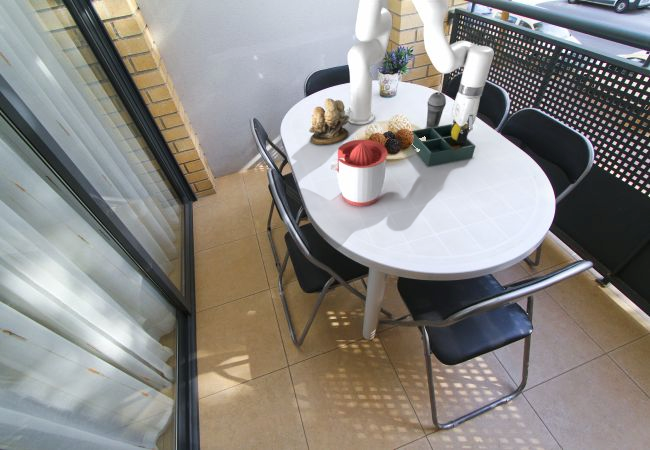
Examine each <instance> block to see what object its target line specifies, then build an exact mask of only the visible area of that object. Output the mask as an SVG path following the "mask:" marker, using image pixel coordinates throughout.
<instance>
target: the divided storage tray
mask: <svg viewBox="0 0 650 450" xmlns="http://www.w3.org/2000/svg"><path fill="white" fill-rule="evenodd" d="M452 126H453V123H450V124H449V123H448V124H443V125H439V126H438V127H432V128H427V127H426V128H421V129H414V130H411V131H412V132H413V135H414V142H413V145H414V146H415V147H416V148H418V149H420V151H419V152H416V153H417V155H418V156H419V157H420V158H421V160H422V161H423V162H424V163H425V164H426V166H427V167H432V166H437V165H438V166H439V165H442V164H448V163H454V162H459V161H464V160H469V159H472V158H473V156H474V153H475V149H476V144H475V143H473V141H471V140H470V139H469V138H468V137H467V139H466V142H465V143H457V142H456V140H454V139H453V138H452V136H451V130H452ZM424 136H425V137H426V141H421V140H420V139H419V138H422V137H424ZM413 145H410V146H411V148H412V149H413V150H414V149H416V148H415V147H414V146H413Z"/></svg>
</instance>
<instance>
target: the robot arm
mask: <svg viewBox="0 0 650 450" xmlns="http://www.w3.org/2000/svg"><path fill="white" fill-rule="evenodd" d="M411 3H412V5H413V6H414V8H415V10H416V12H417V14H418V16H419V17H420V20H421V22H422V25H423V42H424V49H425V51H426V54H427V56H428V58H429V60H430V62H431V64H432V65H433V67H434V69H435V70H437V71H438V72H439V73H441V74H450V73H452V72H454V71H456V70H457V69H460V68H463V70H462V75H461V79H460V82H459V83H460V84H459V87H458V91H457V93H456V96H455V99H454V103H453V106H452V110H451V112H450V113H451V114H450V115H451V117H452V118H453V119H452V125H453V126H454V125H455V124H456V123H457V124H458V125H459V126H461V129H460V132H459V134H458V138H457V141H456V142H457V143H465V142H466V139H467V138H468V135H469V134H470V132H471V131H473V129H474V124H475V122H476V118H477V115H478V111H479V106H480V101H481V97H482V95H483V92H484V89H485V86H486V82H487V80H488V76H489V74H490V73H489V72H490V70H491V66H492V62H493V59H494V55H495V51H494V49H493V48H492V47H490V46H487V45H477V44H475V43H473V42H470V41H469V40H457V41H456V42H453V43H451V44H450V42H449V40H448V39H447V36H446V33H445V27H444V22H445V19H446V16H447V13H448V10H449V8H450V5H449V2H448V0H411ZM383 6H384V0H359V1H358V6H357V14H356V20H355V28H354V31H355V32H354V33H355V37H356V39H357V40H358V41H360V42H357V43H356V44H354V45H352V46H351V48H349V50H348V52H347V64H348V68H349V70H348V72H349V91H350V92H349V104H350V105H349V107H348V109H346V110H344V111H345V115H348V116H349V117H348V118H349V120H348V121H347V122H348V123H350V124H354V125H367V124H370V123H372V122H374V120H375V114H374V113H373V112H372V101H373V100H372V98H373V97H372V96H373V75H372V72H371V70H370V67H372V66H373V65H376V64H378V63H379V62H382V60H383V59H384V58H385V56H386V53H387V51H388V46H389V41H390V38H391V34H392V33H391V32H392V29H393V18H392V14H391V11H389V10H388V9H387V8H386V7H383ZM465 123H466V124H465ZM453 126H452V128H453ZM464 126H467V128H465V129H464ZM463 129H464V130H463ZM451 131H452V130H451Z"/></svg>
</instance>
